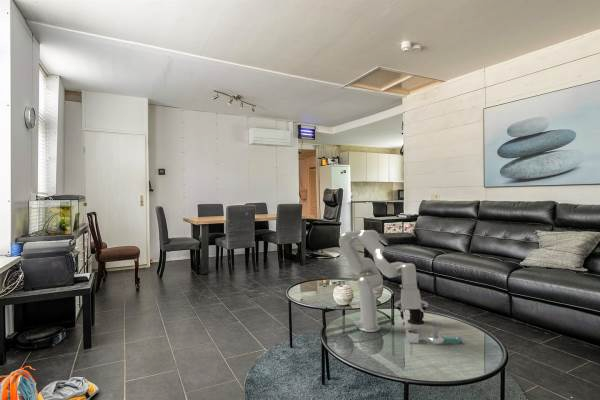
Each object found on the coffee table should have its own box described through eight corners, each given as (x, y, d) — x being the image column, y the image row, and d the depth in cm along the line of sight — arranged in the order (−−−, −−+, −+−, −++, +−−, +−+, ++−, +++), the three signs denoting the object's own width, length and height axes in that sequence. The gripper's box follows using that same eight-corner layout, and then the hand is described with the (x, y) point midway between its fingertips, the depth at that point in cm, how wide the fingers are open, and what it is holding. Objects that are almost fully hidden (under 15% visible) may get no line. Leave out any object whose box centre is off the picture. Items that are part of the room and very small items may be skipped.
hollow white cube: (407, 342, 173) (406, 333, 174) (406, 338, 179) (405, 329, 179) (418, 343, 172) (418, 333, 172) (417, 339, 178) (416, 329, 178)
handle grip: (426, 324, 198) (422, 319, 208) (423, 280, 199) (419, 277, 209) (409, 324, 199) (405, 319, 209) (407, 281, 200) (403, 277, 210)
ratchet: (429, 344, 170) (428, 331, 170) (427, 338, 178) (426, 325, 178) (463, 346, 166) (462, 332, 166) (459, 340, 174) (458, 326, 174)
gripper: (393, 288, 175) (395, 321, 174) (427, 288, 171) (430, 321, 170) (392, 285, 182) (395, 316, 181) (425, 284, 178) (428, 316, 177)
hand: (412, 318), depth 175 cm, fingers open, 9 cm apart
